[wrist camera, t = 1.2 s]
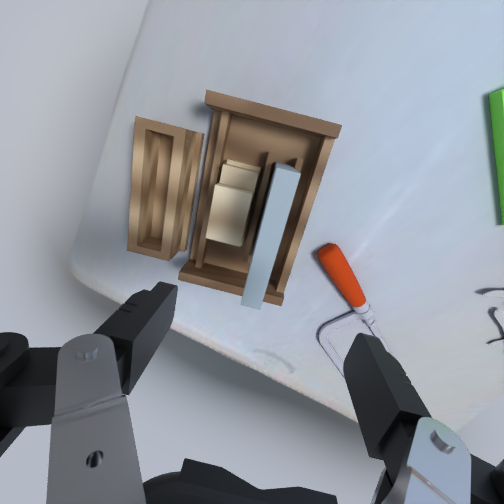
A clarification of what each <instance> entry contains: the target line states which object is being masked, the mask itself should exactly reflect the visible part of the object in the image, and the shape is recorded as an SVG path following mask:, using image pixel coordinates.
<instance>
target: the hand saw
mask: <svg viewBox="0 0 504 504" xmlns="http://www.w3.org/2000/svg"><path fill="white" fill-rule="evenodd" d="M318 258H319V260H320V262H321V263H322V265H323V266H324V268H325V269H326V271H327V273H328V274H329V276H330V277H331V279H332V280H333V282H334V283H335V284H336V286H337V287H338V289H339V290H340V291H341V293H342V294H343V296H344V297H345V298H346V299H347V301H348V302H349V303H350V305H351V306H352V307H353V309H354V310H355V311H354V312H351V313H349V314H347V315H344V316H342V317H340V318H338V319H335V320H333V321H331V322H329V323H327V324H325V325H324V326H323V327H322V328H321V330H320V332H319V341H320V344H321V345H322V346H323V348H324V349H325V351H326V352H327V353H328V355H329V356H330V358H331V359H332V361H333V362H334V363H335V365H336V366H337V368H338V369H339V370H340V372H341V373H342V375H343V376H344V373H343V365H344V363H343V361H342V360H341V358H340V357H339V355H338V354H337V353H336V351H335V350H334V348H333V347H332V345H331V344H330V343H329V341H328V340H327V335H328V334H329V333H330V332H331V331H332V330H334V329H337V328H339V327H341V326H344V325H346V324H348V323H350V322H353V321H355V320H358V319H362V320H364V321H365V322H366V324H367V325H368V326H369V327H370V328H371V330H372V331H373V333H374V335H375V336H376V337H378V338H379V339H380V340H381V342H382V344H383V345H384V347H385V349H386V351H387V352H389V353H390V354H391V352H390V350H389V349H388V347H387V346H386V344H385V342H384V341H383V339H382V337H381V336H380V334H379V332H378V331H377V329H376V327H375V326H374V325H375V324H376V322H375V320H374V319H373V317H372V315H373V313H374V311H373V309H372V308H371V306H370V305H369V304H368V302H367V300H366V298H365V296H364V294H363V292H362V289H361V287H360V285H359V283H358V281H357V279H356V277H355V275H354V273H353V271H352V269H351V267H350V265H349V264H348V262H347V260H346V258H345V257H344V255H343V253H342V251H341V250H340V248H339V247H338V246H337V245H336V244H328V245H325V246H324V247H322V248H321V249H320V250H319V252H318ZM391 355H392V354H391ZM392 356H393V355H392Z"/></svg>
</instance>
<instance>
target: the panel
mask: <svg viewBox="0 0 504 504" xmlns="http://www.w3.org/2000/svg"><path fill="white" fill-rule="evenodd" d="M300 175H301V173H299V172H298V171H297V170H295V169H294V168H293V167H292V166H290V165H287V164H283V163H279V162H276V165H275V168H274V172H273V176H272V180H271V184H270V188H269V191H268V195H267V199H266V203H265V207H264V211H263V214H262V218H261V222H260V226H259V230H258V234H257V237H256V241H255V245H254V249H253V253H252V257H251V262H250V266H249V270H248V275H247V279H246V283H245V288H244V292H243V296H242V301H241V305H243V306H247V307H251V308H255V309H259V310H260V308H261V305H262V302H263V298H264V295H265V292H266V288H267V285H268V282H269V278H270V275H271V272H272V268H273V265H274V262H275V258H276V255H277V252H278V248H279V245H280V242H281V238H282V235H283V232H284V229H285V225H286V222H287V219H288V215H289V212H290V209H291V205H292V202H293V199H294V195H295V192H296V189H297V185H298V182H299V179H300Z"/></svg>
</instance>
